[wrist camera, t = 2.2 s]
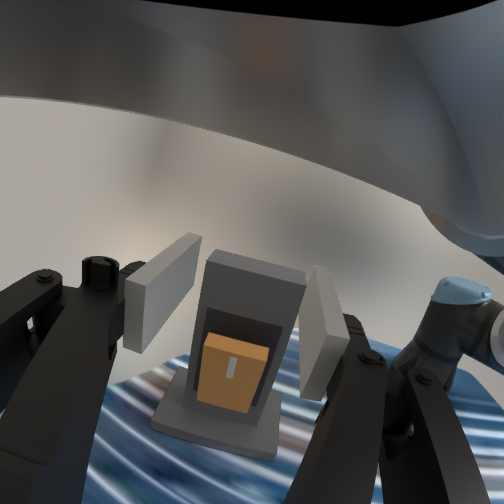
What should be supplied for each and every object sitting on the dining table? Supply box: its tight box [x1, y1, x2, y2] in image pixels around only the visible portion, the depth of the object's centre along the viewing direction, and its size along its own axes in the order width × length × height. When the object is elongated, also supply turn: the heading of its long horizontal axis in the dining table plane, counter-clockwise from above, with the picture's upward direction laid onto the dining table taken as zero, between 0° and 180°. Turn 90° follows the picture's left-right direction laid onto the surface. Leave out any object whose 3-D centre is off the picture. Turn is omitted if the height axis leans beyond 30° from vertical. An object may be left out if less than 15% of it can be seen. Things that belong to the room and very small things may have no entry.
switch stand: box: [151, 249, 307, 461], centre depth 35 cm, size 12×16×23 cm
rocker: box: [197, 332, 269, 413], centre depth 31 cm, size 2×6×10 cm, turn 84°
